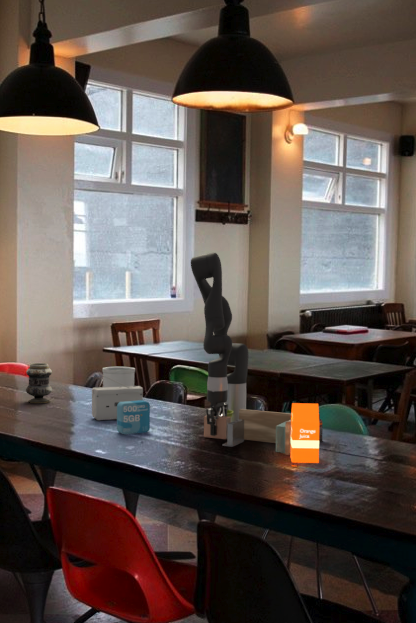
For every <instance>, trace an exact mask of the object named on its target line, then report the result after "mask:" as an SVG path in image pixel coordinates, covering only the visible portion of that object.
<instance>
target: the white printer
mask: <svg viewBox="0 0 416 623" xmlns="http://www.w3.org/2000/svg"><path fill="white" fill-rule="evenodd" d="M97 374H98V375H101V376H102V377H103V376H104V375H103V374H101V373H100V372H98V373H97ZM104 377H106V376H104ZM106 378H108V377H106ZM108 379H110V378H108ZM110 380H112V381H114V382H116V383H119V382H117V381H115V380H113V379H110ZM119 384H121V383H119ZM121 385H123V384H121ZM143 392H144V388H143V387H142V386H141V385H134V386H125V385H123V387H103V386H102V387H100V386H99V387H92V388H91V416H92V417H93V418H94V419H95V420H96V421H110V420H117V404H118V403H119V402H125V401H138V400H143V398H144V397H143V396H144V393H143ZM143 401H144V400H143Z"/></svg>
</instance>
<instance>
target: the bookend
mask: <svg viewBox="0 0 416 623" xmlns="http://www.w3.org/2000/svg"><path fill="white" fill-rule="evenodd" d="M226 440H227V441H226V442H224V443H222V447H223V446H224V447H231V448H232V447H235V446H238V445H239V444H242V443H244V442H245V440H244V420H243V419H238V420H236V421H233V422H231V423H228V434H227V439H226Z"/></svg>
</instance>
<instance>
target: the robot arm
mask: <svg viewBox="0 0 416 623" xmlns="http://www.w3.org/2000/svg"><path fill="white" fill-rule="evenodd" d="M190 268H191V271H192V272H191V273H192V274H193V277H194V280H195V282H196V285H197V287H198V289H199V291H200V294H201V298H202V300H203V304H204V307H203V313H204V320H205V321H204V322H205V332H204V333H205V334H204V339H203V349H204V352H206V354H208V355H218V358H216V359H213V360H210V361H209V362H208V366H207V368H208V369H207V372H208V373H207V384H206V386H207V387H206V391H207V392H206V393H207V394H206V398H207V399H206V401H207V402H208V403H210V407H209V408H206V410H205V413H206V416H207V424H209V425H210V435H212V436H216V435H217V426H216V425H217V420H218V419H219V416H227V411H228V410H231V411H233V413H232V417H231V422H233V421H236V420H238V419H239V409H247V378H248V369H249V368H248V367H249V348H248V346H247V345H246V344H245V343H236V342H235V343H233V340H232V338H231V337H230V335H228V331H229V328H230V327H231V324H232V320H233V314H232V313H233V312H232V310H231V307H230V304H229V301H228V300H227V299H226V297H225V296H223V268H222V261H221V258H220V256H219V254H218V253H217V252H210V253H209V252H208V253H205V254H200V255H196V256H193V257H191V259H190ZM207 279H212V280H213V281H212V286H211V284H210V283H209V282H208V280H207ZM228 366H229V367H230V366H231V367H234V371H233V372H230V373H228ZM214 416H216V417H214ZM209 418H210V419H209ZM214 419H215V422H214Z"/></svg>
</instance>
